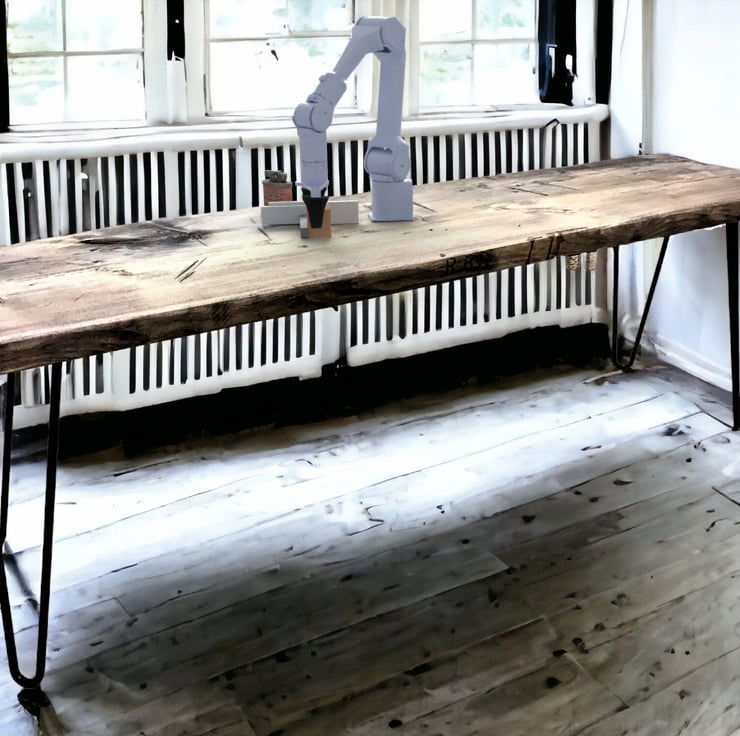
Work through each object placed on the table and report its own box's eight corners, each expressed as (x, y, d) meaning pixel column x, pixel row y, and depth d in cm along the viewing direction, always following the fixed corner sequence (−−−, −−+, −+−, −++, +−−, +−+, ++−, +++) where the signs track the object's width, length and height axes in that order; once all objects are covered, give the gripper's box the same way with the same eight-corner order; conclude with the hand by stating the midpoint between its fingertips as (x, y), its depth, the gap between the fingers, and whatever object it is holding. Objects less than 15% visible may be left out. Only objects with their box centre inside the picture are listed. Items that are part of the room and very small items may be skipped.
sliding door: (306, 222, 233) (305, 204, 231) (308, 237, 220) (307, 218, 219) (261, 223, 232) (260, 206, 231) (260, 238, 220) (260, 220, 218)
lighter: (296, 213, 242) (294, 171, 239) (287, 216, 240) (286, 173, 236) (269, 210, 247) (267, 168, 243) (260, 212, 244) (258, 170, 240)
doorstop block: (330, 232, 225) (329, 205, 223) (331, 236, 222) (330, 209, 220) (307, 233, 225) (306, 205, 223) (307, 237, 221) (307, 210, 219)
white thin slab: (358, 221, 235) (357, 199, 233) (358, 223, 233) (358, 201, 231) (269, 224, 233) (268, 202, 231) (269, 225, 231) (268, 203, 230)
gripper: (293, 155, 224) (296, 216, 229) (295, 167, 210) (297, 232, 215) (326, 154, 224) (328, 215, 229) (329, 166, 211) (331, 231, 216)
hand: (315, 223), depth 223 cm, fingers open, 7 cm apart
